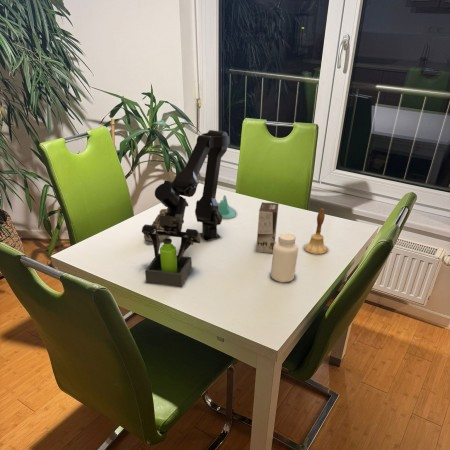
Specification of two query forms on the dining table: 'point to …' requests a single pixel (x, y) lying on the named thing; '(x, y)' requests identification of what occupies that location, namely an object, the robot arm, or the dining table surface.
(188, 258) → the tote
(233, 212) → the teal witch hat
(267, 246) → the coffee box
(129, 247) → the dining table surface
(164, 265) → the green bottle
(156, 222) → the hiking shoe
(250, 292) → the dining table surface
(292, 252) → the pill bottle
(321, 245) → the hand bell
